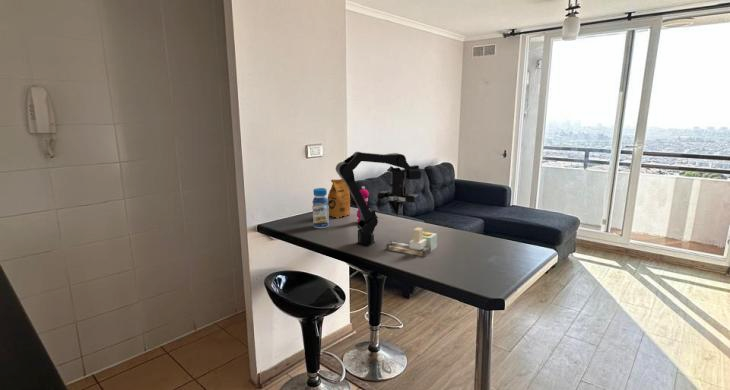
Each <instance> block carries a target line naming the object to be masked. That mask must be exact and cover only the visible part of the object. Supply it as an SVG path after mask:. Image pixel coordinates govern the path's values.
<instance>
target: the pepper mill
mask: <svg viewBox="0 0 730 390" xmlns="http://www.w3.org/2000/svg"><path fill="white" fill-rule="evenodd" d="M359 190H360V192H361V194H362V196H363V198H364V200H365V202H366V204H367V205H368V201H369V198H368V197H369V195H370V192H369V191H368V189H366V187H365V186H364V185H363V186H361V189H359ZM356 217H357V223H358V222H359V221H360V220H361V217H360V212H359V209H357V212H356Z"/></svg>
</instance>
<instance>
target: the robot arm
mask: <svg viewBox="0 0 730 390" xmlns="http://www.w3.org/2000/svg"><path fill="white" fill-rule="evenodd" d="M362 162H366V163H367V162H368V163H377V164H378V163H380V164H387V165H391V166H389V168H388V169H386V171H387V172H388V173H391V183H390V184H389V186H390V187H391V192H390V191H388V190H387V191H386V190H382V191H379V192H378V193H377V195H376V198H377V199H379V200H384V199H385V198H388V199H387V202H388V203H390V205H391V206H392V209H393V210H394V212H395V215H396V216H399V215H400V213H401V210H402V207H403V205H404V204H405V203H417V202H418V201H420V197H419V194H417V193H410V190H411V188H410V187H409V186H407V185H406V182H405V180H406V181H410V182H411V181H420V179H421V178H422V173H421V169H420V166H419V165H418V164H417V165H409V163H408V161H407V159H406V156H405V155H404V154H401V153H396V152H394V153H387V154H386V153H384V154H383V153H382V154H381V153H380V154H379V153H369V152H361V151H355V152H354V153H353V154H352V155H350V156H349V157H347V158H346V159H344V160H343V161H340V162H338V163H337V165H336V166H335V172H336V174H338V176H339V178H340V179H342V180H343V181H344V182H345V183H346V185H347V187H348V189H349V191H350V196H351V197H352V198H353V201H354V203H355V204H356V206H357V208H358V209H359V212H360V217H361V220H360V221H359V222H358V221H357V223H356V227H357V229H358V230H357V242H355V244H356V245H361V246H363V247H365V246H366V247H369V246H371V245H372V244H374V243H375V244H376V241H375V233H374V232H375V228H376V227H377V225H378V224H379V217H378V216H377V213H376V211H375V209H373V208H372V207H368V203H367V204H366V202H365V200H364V198H363V196H362V194H361V192H360V190H361V189H360V188H359V187H358V184H357V182H356V179H355V174H354V173H355V172H354V170H355V169H356V168H358V166H359V164H360V163H362ZM394 166H395V167H394ZM401 168H402V169H401ZM358 209H357V210H358Z"/></svg>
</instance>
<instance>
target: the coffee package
mask: <svg viewBox="0 0 730 390" xmlns="http://www.w3.org/2000/svg"><path fill="white" fill-rule="evenodd" d="M330 181H331V183H332V184H331V187H330V189H329V192H328V193H327V194H328V195H327V199H328V206H329V209H328V210H329V216H332V217H337V218H336V219H339V218H338V217H341V218H343V217H342V216H346V217H348V216H350V215H351V197H350V196H351V193H350V191H349V189H348V187H347V185H346V183H345V182H344V181H343V180H342V178H340V179H331V180H330ZM349 214H350V215H349ZM347 215H348V216H347ZM332 217H331V218H332Z"/></svg>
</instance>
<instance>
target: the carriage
mask: <svg viewBox="0 0 730 390" xmlns="http://www.w3.org/2000/svg"><path fill="white" fill-rule="evenodd" d="M423 232H424V227H415V228H414V229H413V239H411V240H410V241H409V245H410V248H413V249H419V250H421V249H423V248H424V247H425V246H426V245H427V239H423Z"/></svg>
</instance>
